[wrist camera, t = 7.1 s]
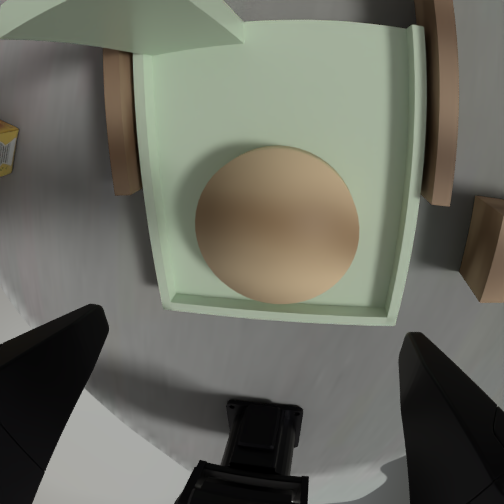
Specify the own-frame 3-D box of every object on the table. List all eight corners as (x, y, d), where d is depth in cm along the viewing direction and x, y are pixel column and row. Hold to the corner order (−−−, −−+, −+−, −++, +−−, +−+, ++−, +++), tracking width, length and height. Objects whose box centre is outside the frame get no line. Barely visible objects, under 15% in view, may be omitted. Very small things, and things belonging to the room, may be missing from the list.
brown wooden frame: (430, 189, 16) (449, 206, 13) (141, 181, 19) (115, 195, 16) (412, -88, 8) (424, -110, 5) (137, -73, 11) (113, -89, 8)
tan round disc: (348, 292, 18) (350, 308, 16) (211, 283, 19) (203, 297, 18) (360, 148, 14) (365, 153, 13) (199, 147, 16) (188, 151, 14)
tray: (389, 306, 19) (423, 461, 9) (174, 292, 21) (90, 419, 12) (412, 34, 12) (531, -36, 2) (150, 40, 14) (-8, 11, 5)
